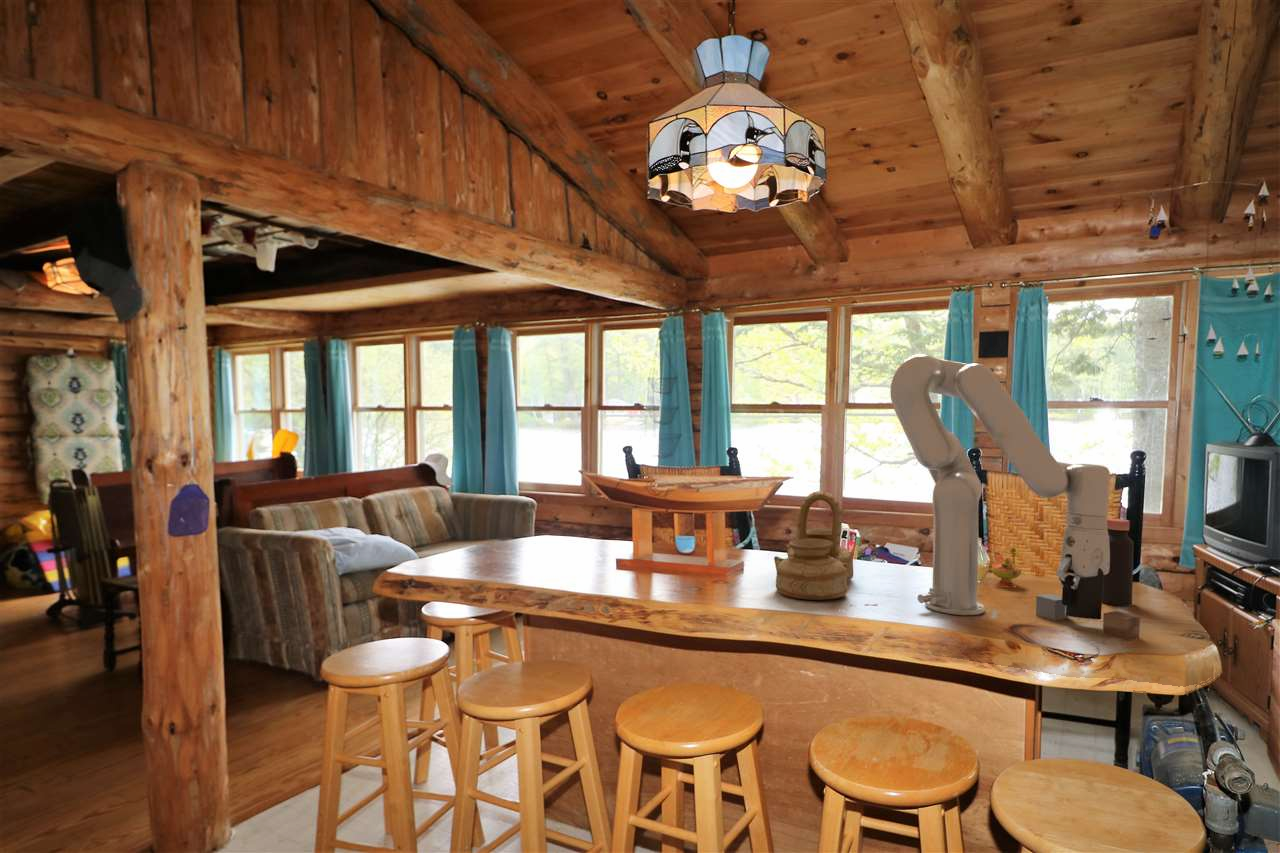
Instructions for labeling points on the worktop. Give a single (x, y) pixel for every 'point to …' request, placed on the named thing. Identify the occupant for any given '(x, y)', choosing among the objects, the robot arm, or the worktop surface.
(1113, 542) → the bottle
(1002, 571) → the flower arrangement
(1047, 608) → the grey block
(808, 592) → the ceramic vessel
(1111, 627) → the walnut block
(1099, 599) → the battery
